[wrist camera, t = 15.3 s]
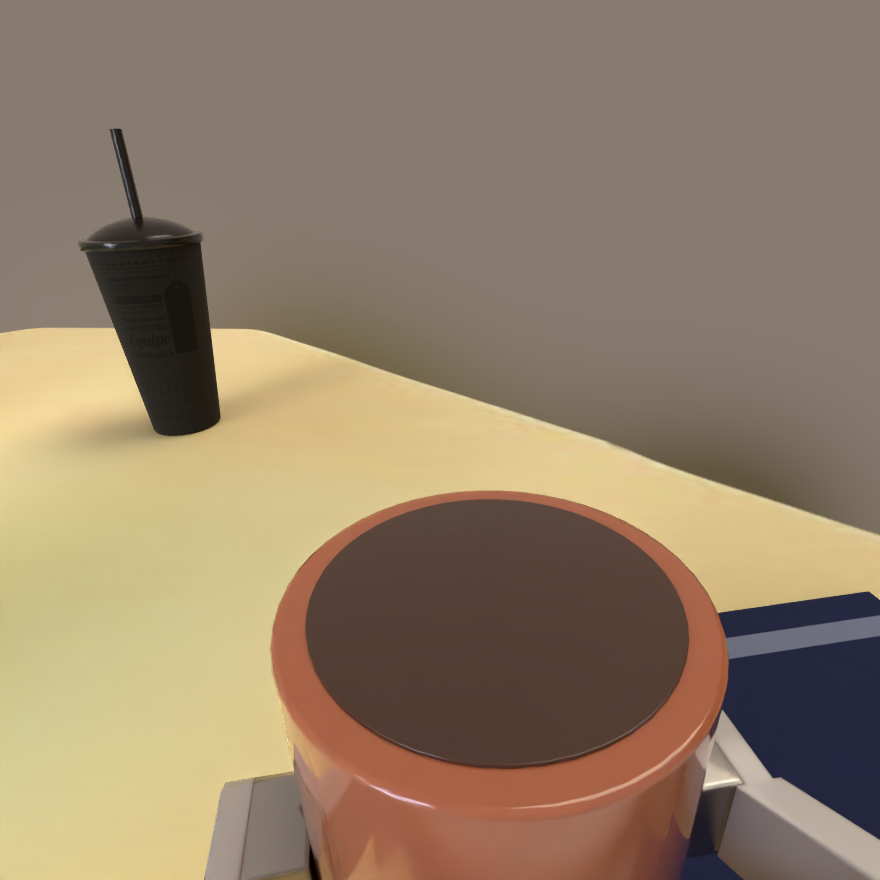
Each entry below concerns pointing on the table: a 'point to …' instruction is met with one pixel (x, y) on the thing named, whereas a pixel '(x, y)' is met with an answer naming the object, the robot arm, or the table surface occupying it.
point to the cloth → (808, 703)
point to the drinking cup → (158, 309)
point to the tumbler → (498, 694)
